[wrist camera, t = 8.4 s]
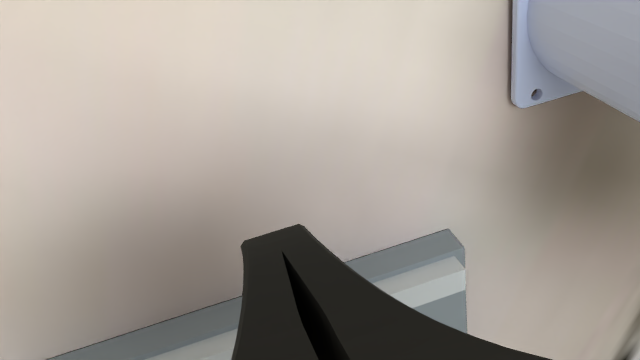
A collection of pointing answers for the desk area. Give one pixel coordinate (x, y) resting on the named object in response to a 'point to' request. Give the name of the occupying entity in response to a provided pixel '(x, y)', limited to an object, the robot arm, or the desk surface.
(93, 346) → the hole board
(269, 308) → the robot arm
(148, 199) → the desk surface
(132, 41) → the desk surface
